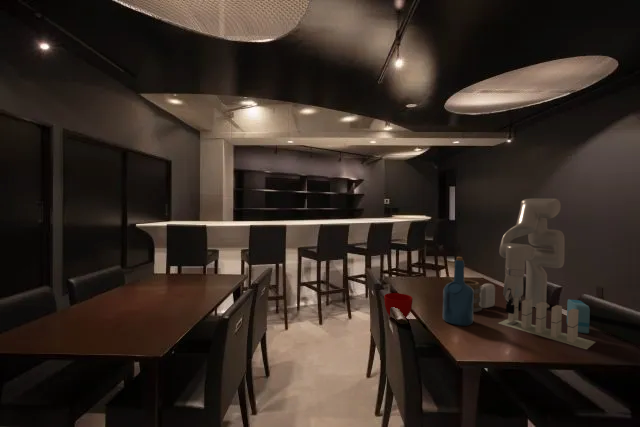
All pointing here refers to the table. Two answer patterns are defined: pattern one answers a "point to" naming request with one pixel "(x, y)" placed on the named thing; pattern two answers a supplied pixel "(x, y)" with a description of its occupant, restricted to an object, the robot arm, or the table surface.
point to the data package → (580, 314)
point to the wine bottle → (458, 298)
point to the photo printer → (487, 295)
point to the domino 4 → (556, 321)
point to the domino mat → (549, 334)
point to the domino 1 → (514, 316)
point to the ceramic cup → (398, 302)
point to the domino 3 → (541, 317)
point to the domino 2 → (526, 313)
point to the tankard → (476, 292)
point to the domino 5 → (572, 325)
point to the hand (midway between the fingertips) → (513, 311)
